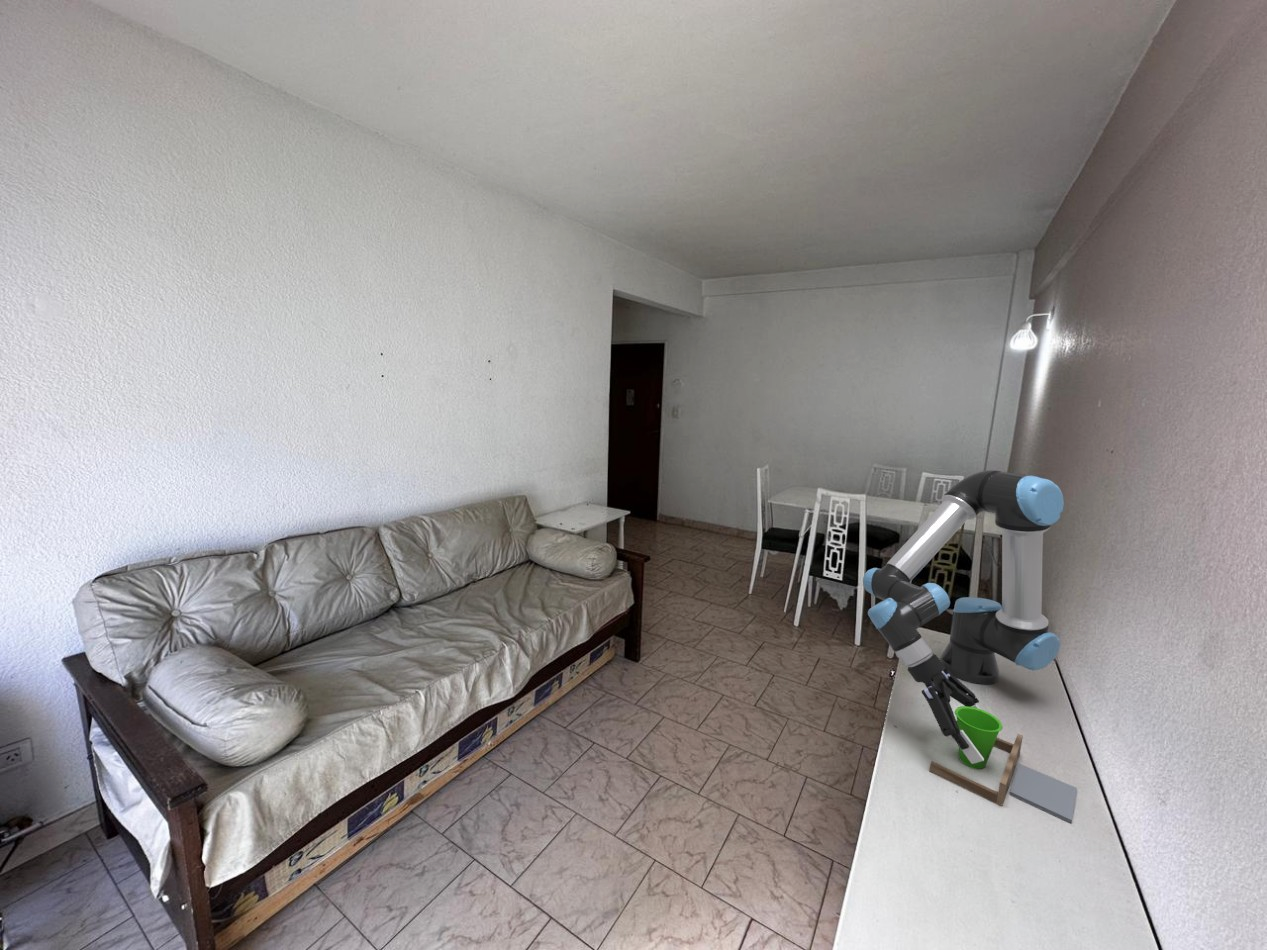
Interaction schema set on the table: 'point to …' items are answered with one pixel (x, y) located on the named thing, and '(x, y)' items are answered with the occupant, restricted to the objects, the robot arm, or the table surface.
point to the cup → (978, 732)
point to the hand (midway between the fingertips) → (984, 747)
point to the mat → (1044, 792)
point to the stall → (978, 788)
